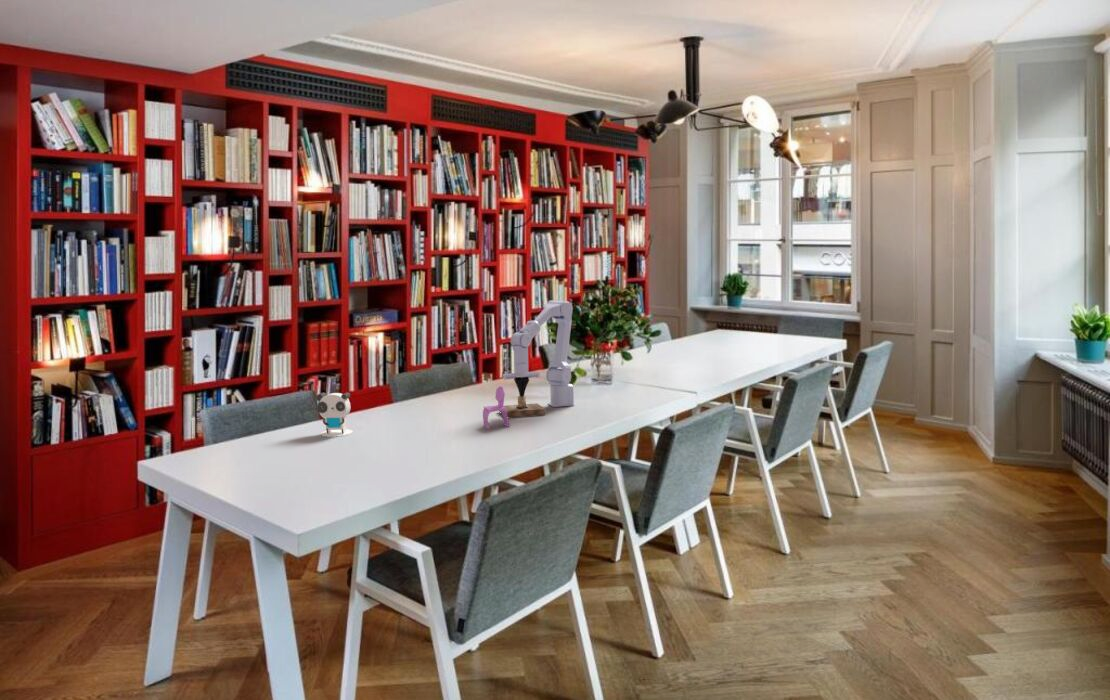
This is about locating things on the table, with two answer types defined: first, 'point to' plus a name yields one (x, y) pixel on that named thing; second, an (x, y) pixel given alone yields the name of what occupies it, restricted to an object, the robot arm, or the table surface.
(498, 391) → the toy chair
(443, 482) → the table surface
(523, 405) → the peg
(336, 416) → the panda figurine
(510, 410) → the board
